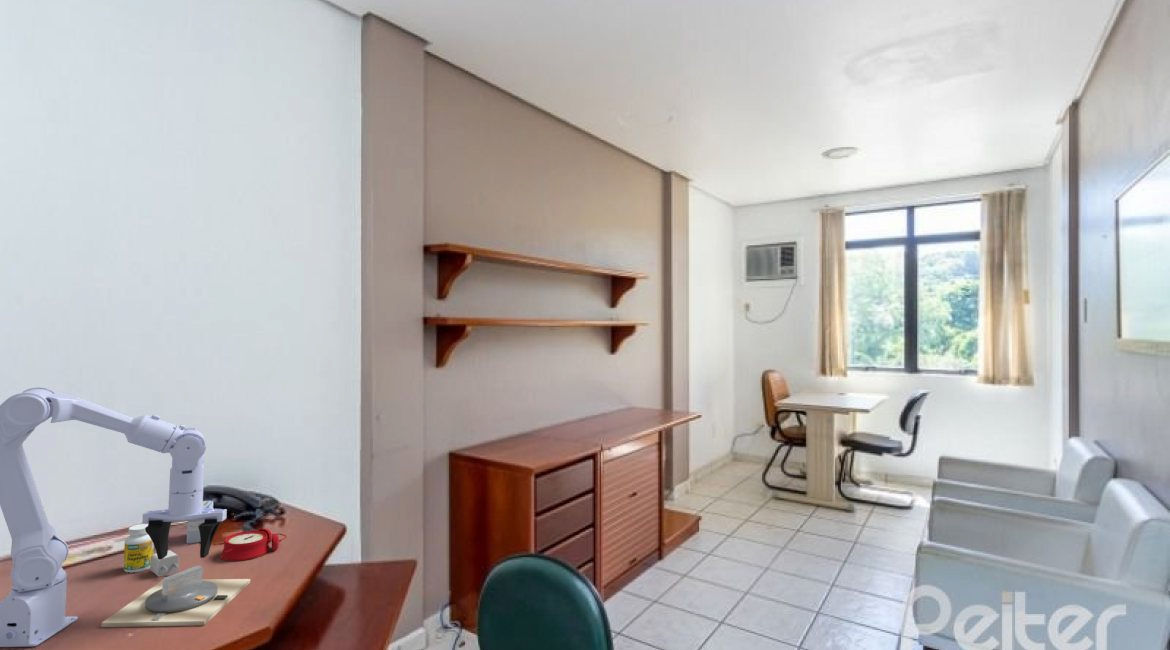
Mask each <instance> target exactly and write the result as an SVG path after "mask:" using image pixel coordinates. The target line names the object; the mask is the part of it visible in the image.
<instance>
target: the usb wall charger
mask: <svg viewBox="0 0 1170 650" xmlns="http://www.w3.org/2000/svg"><path fill="white" fill-rule="evenodd" d="M179 565H180V557H179V555H178V554H176V553H175V552H173V551H172V550H169V549H168V553H167V556H165V557H164V558H163V559H158V556H157V552H156V553H154V554H153V555H152V556H151V567H150V568H149V569H150V571H151V572H152V573H154V574H155V575H156V576H157V577H160V576H161V577H164V576H163V575H165V576H168V575H172V574H176V573H178V571H179V569H180V568H179V567H180V566H179ZM171 573H172V574H171Z"/></svg>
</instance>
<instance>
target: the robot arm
mask: <svg viewBox="0 0 1170 650" xmlns="http://www.w3.org/2000/svg"><path fill="white" fill-rule="evenodd" d="M50 418H51V420H50V423H51V424H53V423H60V422H66V421H67V422H68V421H74V420H75V421H79V422H82V423H86V424H90V425H93V426H97V427H100V428H103V429H107V430H110V431H115V432H118V433H120V434H124V436H125V438H126V440H127V442H128V443H130V444H133V445H136V446H139V447H142V448H145V449H149V450H152V451H154V452H158V453H161V454H169V455H170V456H171V460H172V461H171V468H170V469H169V484H168V485H169V490H168V506H167V507H168V509H159V510H158V509H157V510H148V511H146V512H144V513H142V523H141V524H148V526H147V527H146V528H145V531H146V533H147V534H148V535H149V537H150V538H151V540H152V542H153V544H154V550H155V552H156V553H157V556H158V559H163V558H164V557H165V556H167V553H168V550H169V535H170V529H171V524H172V522H188V521H204V523H202V524H201V525H199V532H200V539H201V543H200V548H199V550H200V551H199V556H200V557H199V558H200V559H203V558H206V557H207V556H208V555H209V553H210V549H211V546H212V542H213V540H214V537H215V535H216V533H217V531H218V529H219V528H220V526H221V524H222V522H223V521H225V520H226V519H227V513H228V512H227V511H228V510H227V509H226V508H225V509H224V508H223V509H222V508H214V507H213V508H203V501H204V484H205V483H204V481H205V480H204V479H205V465H204V462H205V456H204V454H205V452H206V449H207V446H206V439H205V436H204V434H203V433H202V432H201V431H199V430H197V429H195V428H194V427H187V426H186V425H184V424H180V425H177V424H174V423H171V422H168V421H165V420H163V419H161V415H158V414H152V416H150V415H147V414H143V415H140V416H136V417H132V416H130V415H127V414H124V413H121V412H119V411H117V410H113V409H111V408H108V407H106V406H103V405H100V404H97V403H95V402H92V401H89V400H87V399H84V398H81V397H78V396H76V395H72V394H69V393H65V392H61V391H56V392H55V391H54V390H52V389H50V388H46V387H41V386H40V387H39V386H38V387H32V388H28V389H26V390H24V391H22V392H19V393H16V394H14V395H12V396H9V397H8V398H7V399H6V400H5V401H3V402H2V403H1V404H0V509H1V511H2V514H3V518H4V519H5V523H6V526H7V529H8V532H9V534H10V538H11V546H10V556H11V559H12V568H11V570H10V575H9V578H10V580H11V583H12V584H11V585H12V586H11V590H10V592H9V593H8V594H7V596H6V597H5V598H4V599H2V600H1V601H0V648H15V647H17V648H18V647H19V648H20V647H23V648H24V647H37V646H38V645H40V644H42V643H43V642H45V641H46V640H48V639H49V638H51V637H52V636H54V635H55V634H57V633H58V632H60V631H62V630H63V629H65V628H66V627H68V626H69V625H71V624H72V623H74V622H75V621H77V620H78V616H66V607H67V606H66V604H67V603H66V602H67V579H68V578H67V577H68V573H67V572H66V570H64V568H63V567H62V565H63V564H64V563H65V561H66V560H67V558H68V555H69V554H70V553H69V551H70V549H69V546H68V543H66V542H65V540H63V539H62V538H60V537H59V536H58V533H57V532H56V529H55V528H54V526H52V524H50V523H49V520H48V517H47V515H46V512H45V509H44V506H43V502H42V500H41V496H40V494H39V491H38V488H37V485H36V482H35V479H34V475H33V473H32V471H31V467H30V464H29V461H28V458H27V454H26V453H25V448H24V447H23V444H24V443H25V441H26V440H27V439H28V438H29V437H30V436H31V434H32V433H33V432H34V431H35V429H36V428H37V427H38V426H39V425H41V424H42V423H44V422H46V421H47V420H49V419H50Z"/></svg>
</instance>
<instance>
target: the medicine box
mask: <svg viewBox="0 0 1170 650" xmlns="http://www.w3.org/2000/svg"><path fill="white" fill-rule="evenodd" d="M203 508H213V509H214V500H203ZM202 523H204V521H187V526H186V527H187V528H186V543H187V544H189V545H190V544H200V543H199V542H201V539H200V532H199V525H201V524H202Z"/></svg>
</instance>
